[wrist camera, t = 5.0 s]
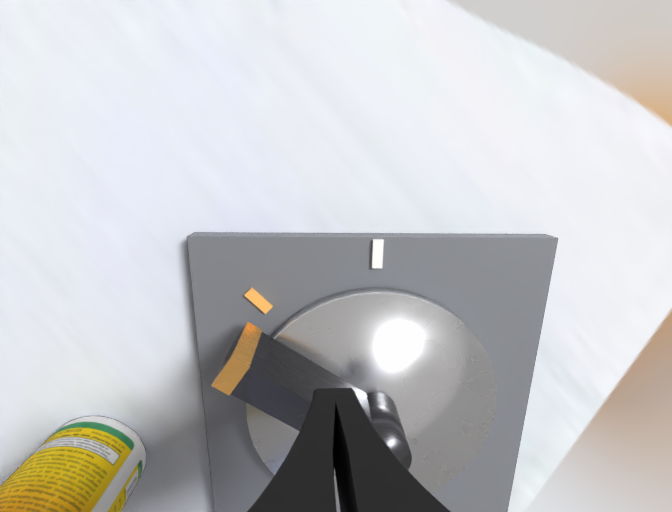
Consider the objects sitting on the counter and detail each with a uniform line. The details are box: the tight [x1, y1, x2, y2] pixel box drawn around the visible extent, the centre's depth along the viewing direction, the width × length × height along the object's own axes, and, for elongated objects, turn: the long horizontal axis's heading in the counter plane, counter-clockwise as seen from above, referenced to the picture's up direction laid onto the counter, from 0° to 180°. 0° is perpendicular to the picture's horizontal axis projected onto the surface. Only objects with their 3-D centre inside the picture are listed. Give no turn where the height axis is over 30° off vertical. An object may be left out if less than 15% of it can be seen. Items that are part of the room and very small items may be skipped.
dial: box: [212, 287, 497, 507], centre depth 16 cm, size 14×13×4 cm
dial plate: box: [187, 232, 558, 512], centre depth 19 cm, size 18×18×1 cm
